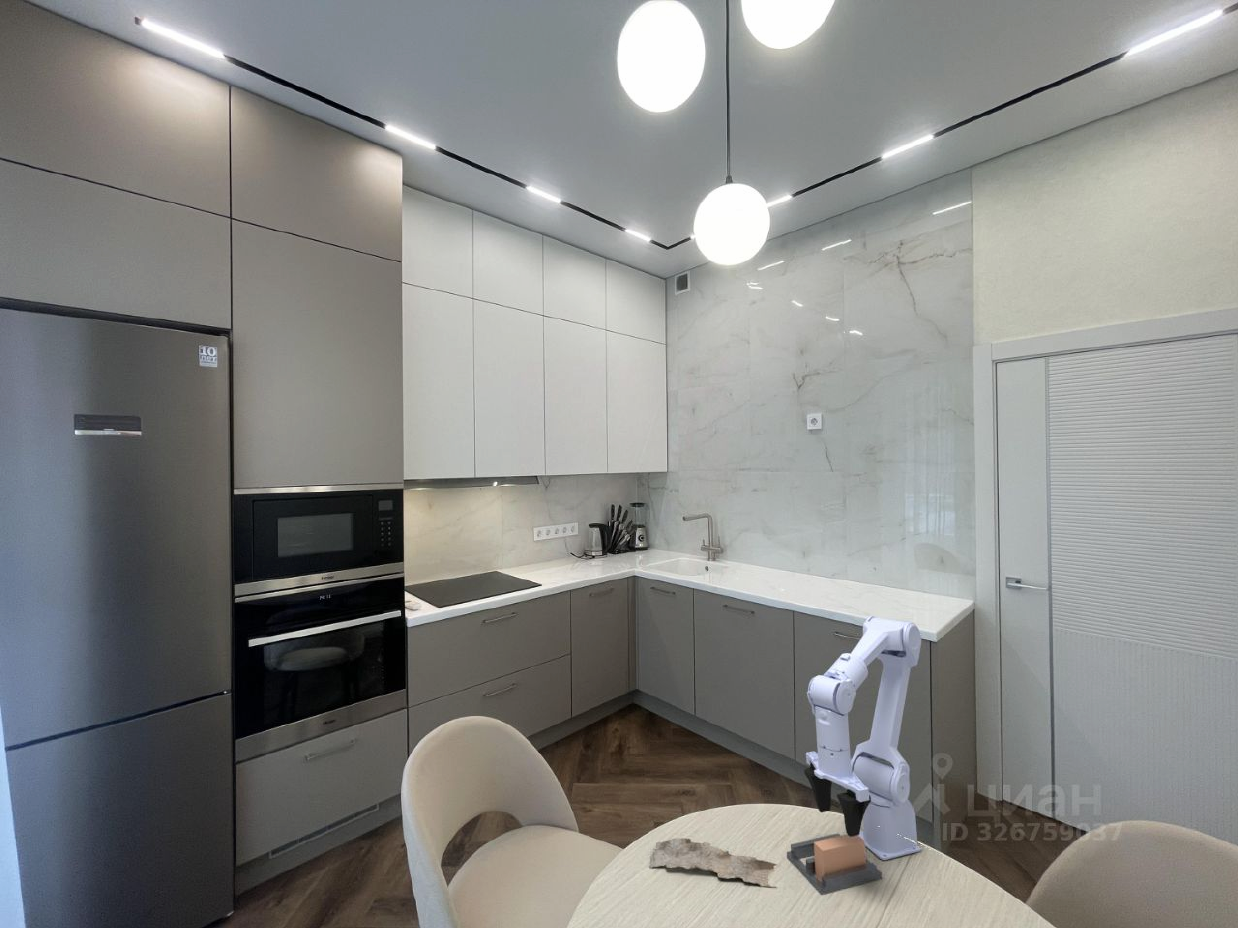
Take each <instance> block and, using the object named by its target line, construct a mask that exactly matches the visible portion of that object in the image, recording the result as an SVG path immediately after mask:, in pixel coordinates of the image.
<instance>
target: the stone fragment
mask: <svg viewBox="0 0 1238 928" xmlns="http://www.w3.org/2000/svg"><path fill="white" fill-rule="evenodd" d="M655 844H656V845H655V849H654V848H653V849H652V850H653V852H652V854H651V855H650V860H649V862H648V867H649V869H653V868H658V867H664V866H666V868H670V869H673V868H678V867H679V868H684V869H685V870H691V869H696V868H698V869H700V870H702V871H711V872H713V873H717V877H718V878H722V879H726V880H727V879H736V878H739V879H742V881H743V882H746V883H751V884H757V885H759V886H760V887H762V888H765V887H767V888H776V889H778V887H777V886H776V885H775V886H774V885H773V886H772V885H771V884H769V881H770V879H769V876H770V875H771V874H772V873H774V872H775V871H774V870H775V867H776V866H777V865H778V864H776V863H773V862H769V861H765V860H763V859H762V860H759V859H757V858H756V857H754V856H749V855H748V856H747V855H735V854H734V855H733V854H730V853H729V850H724V849H722V848H719V847H716V846H715V847H714V846H713V845H711V843H710V842H708V841H707V842H706V841H704V842H703V843H702V842H693V841H691V838H685V837H681V838H679V837H678V838H677V837H676V838H673V839H669V840H666V841H665V840H663V841H658V842H656V843H655Z"/></svg>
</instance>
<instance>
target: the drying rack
mask: <svg viewBox="0 0 1238 928" xmlns="http://www.w3.org/2000/svg"><path fill="white" fill-rule="evenodd" d="M838 836H842V835H841V834H840V833H835V834H834V833H833V834H831V835H826V836H820V837H817V838H812V839H809V840H808V839H807V840H804V841H800V842H799V841H798V842H795V843H791V844H790V851H786V858H787V859H788V860H789V862H791V864H792V865H793V866H794V867H795V868H796V869H797V870H798V872H799V873H800V874H802V875H803V877H804V878H805V879H806V880H807V881H808V882H809V883H810V884H811V885H812V886H813V887H814V888H815V889H816V891H817V892H818V893H819V894H820V895H822V896H823V895H827V894H831V893H834V892H837V891H841V890H845V889H849V888H853V887H857V886H860V885H864V884H867V883H868V884H869V883H872V882H874V881H879V880H883V872H882V871H881V870H880V869H879V868H878V866H877V865H876V864H875V863H873V862H870V861H869V860H868V859H867V858H866V865H863V866H859V867H855V868H851V869H847V870H843V871H839V872H836V873H832V874H828V875H824V876H822V883H821V882H820V881H819V880H818V879H817V877H816V870H815V852H814V842H817V841H821V840H825V839H830V838H834V837H838ZM807 857H810V858H807ZM806 858H807V859H806ZM800 859H805V863H804V862H802V860H800Z"/></svg>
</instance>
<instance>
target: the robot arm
mask: <svg viewBox="0 0 1238 928" xmlns="http://www.w3.org/2000/svg"><path fill="white" fill-rule="evenodd" d="M920 634H921V633H920V630H919V628H918V626H917V625H916V623H914V622H912V621H908V622H907V621H900V620H895V619H889V618H882V617H877V616H873V615H870V616H868V617H867V618H866V620H865V621H864V622H863V625H862V636H861V638H860V639H859V641H858V642H857V644H856V645H855V646H854V648H853V650H852V651H851V653H848V652H845V653H842V654H841V655H840V656H839V657H838V658H837V659H836V660H835V661H834V663H832V665H831V666H830V667H829V669H827V670H826V672H825V673H824V674H823V675H821V674H818V675H817V676H814V677H812V678H811V679H810V681H809V683H808V686H807V687H808V688H807V692H806V696H807V699H808V703H809V704H810V706H811V714H812V715H813V716H814V717H815V728H816V729H815V730H816V745H817V746H816V747H817V748H816V749H817V752H816V751H810V752H806V753H805V759H806V761H805V762H806V765H809V767H808V768H804V771H803V772H804V775H805V776H806V778H807V780H808V782H809V784H810V786H811V790H812V793H813V795H814V798H815V799H814V800H815V802H816V805H817V810H818V812H820V813H826V812H830V811H831V807H832V797H831V796H832V784H833V783H834V784H836V785H839V786H841V787H843V788H844V789H845V790H846V792H841V793H837V794H836V797H837V800H838V802H839V803H840V804H839V805H840V807H841V810H842V814H843V819H844V826H845V832H846V835H848V836H850V837H853V836H857V835H858V836H859V837H860V838H861V839H863V840H864V842H865V848H867V849H868V850H870V851H871V852H872V853H873V854H874V855H875V856H877V857H878V858H879V860H882V861H886V860H887V861H888V860H891V859H895V858H898V857H902V856H907V855H909V854H913V853H914V854H915V853H918V852H921V851H922V847H921V848H919V847H920V846H919V845H918V844H917V845H916V844H915V843H914V842H912V841H910V840H908V839H905V838H904V837H906V838H909V839H911V840H914V841H915V842H917V843H918V836H917V835H918V834H917V823H916V813H915V809H914V807H913V805H912V803H911V801H910V800H909V796H910V791H911V783H910V774H911V773H910V772H911V771H910V770H911V769H910V768H911V767H910V766H909V764H908V762H907V761H906V759H905V758H904V757H903V756H902V755H901V753H900V752H899V750H898V745H899V739H900V735H901V728H902V721H903V715H904V709H905V703H906V699H907V698H906V697H907V692H908V686H909V680H910V673H911V668H913V667H916V666H918V661H919V658H920V653H921V646H922V637H921V635H920ZM876 658H877V659H878V660H879V661H880V662H881V663H882V665H883V668H882V673H881V676H880V677H881V679H880V683H879V687H878V688H879V689H878V694H877V697H876V698H877V699H876V704H875V711H874V715H873V719H872V720H873V721H872V726H871V732H870V737H869V739H868V740H866V741H864V742H861V743H859V744H857V745H856V747H855V751H854V754H853V756H851V742H850V728H849V726H850V725H849V712H851V711H852V709H853V706H854V700H855V699H856V697H857V696H856V695H857V692H856V691H857V689H859V688H860V686H861V684H863V682H864V681H865V679H867V677H868V675H869V671H868V666H869V665H870V664H871V663H872V662H873V661H874V660H876ZM877 759H878V760H877ZM879 760H880V761H879ZM882 761H883V762H882ZM884 762H886V763H884ZM887 763H888V764H887ZM889 764H891V765H889ZM878 826H880V827H878ZM861 828H862V830H861ZM897 834H899V835H897ZM900 835H901V836H900Z"/></svg>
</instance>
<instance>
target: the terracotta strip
mask: <svg viewBox="0 0 1238 928" xmlns="http://www.w3.org/2000/svg"><path fill="white" fill-rule="evenodd" d="M814 852H815V855H814V857H815V870H816V875H815V876H816V877H817V879H818V880H819V881H820V882H821V883H822V876H824V875H828V874H832V873H836V872H839V871H843V870H847V869H851V868H855V867H859V866H863V865H866V859H867V858H866V856H867V855H866V846H865V842H864V840H863V839H861V838H860V837H859V836H858V835H857V836H853V837H850V836H848V835H847V834H843V835H841V836H838V837H834V838H830V839H825V840H821V841H817V842H814Z"/></svg>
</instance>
